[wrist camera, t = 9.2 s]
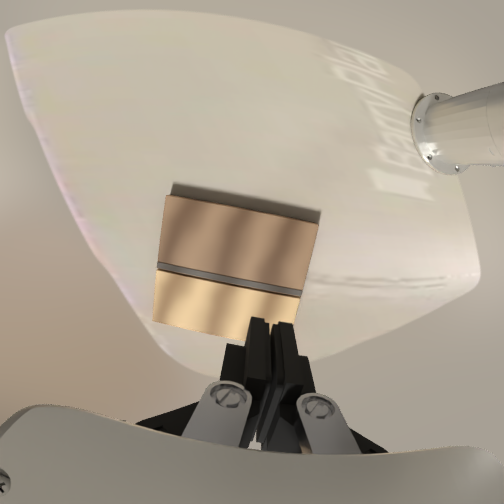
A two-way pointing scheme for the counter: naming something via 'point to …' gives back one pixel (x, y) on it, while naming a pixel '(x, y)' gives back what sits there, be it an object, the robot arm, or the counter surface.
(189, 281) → the oak plank
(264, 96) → the counter surface
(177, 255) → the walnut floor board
